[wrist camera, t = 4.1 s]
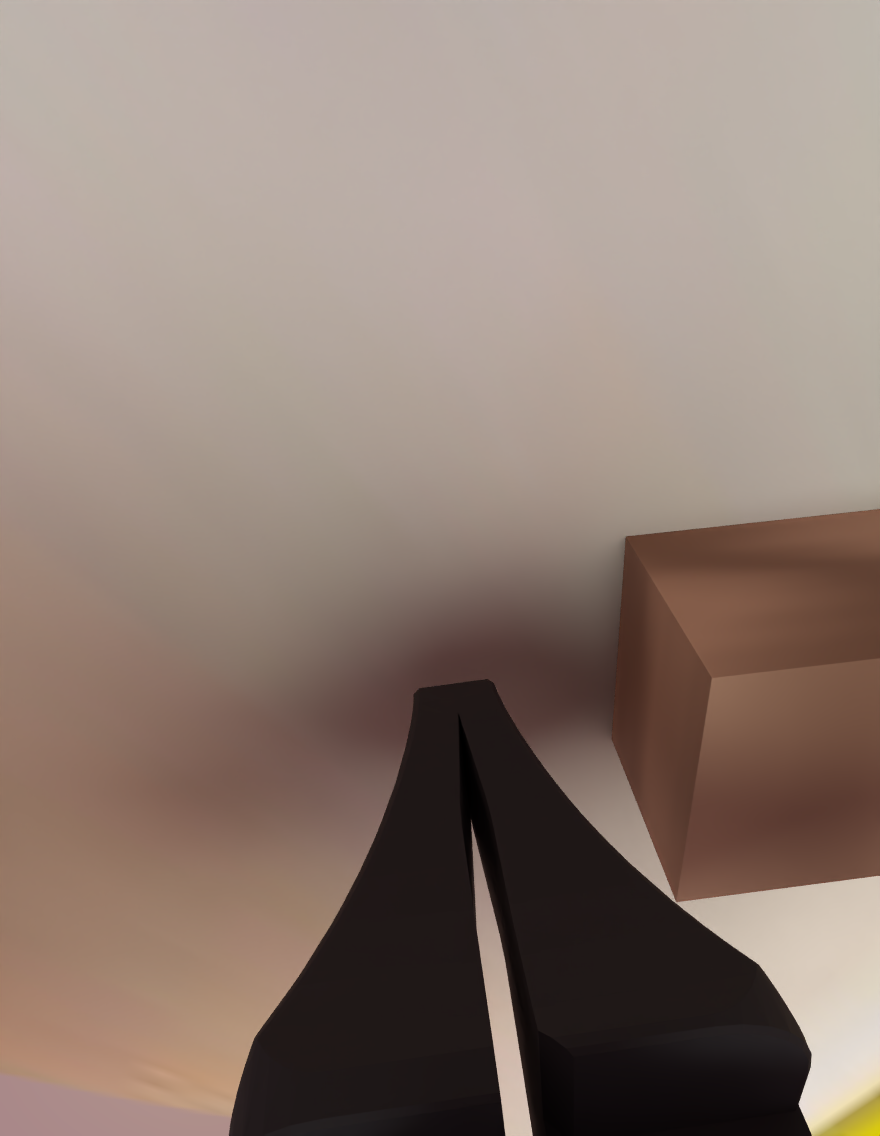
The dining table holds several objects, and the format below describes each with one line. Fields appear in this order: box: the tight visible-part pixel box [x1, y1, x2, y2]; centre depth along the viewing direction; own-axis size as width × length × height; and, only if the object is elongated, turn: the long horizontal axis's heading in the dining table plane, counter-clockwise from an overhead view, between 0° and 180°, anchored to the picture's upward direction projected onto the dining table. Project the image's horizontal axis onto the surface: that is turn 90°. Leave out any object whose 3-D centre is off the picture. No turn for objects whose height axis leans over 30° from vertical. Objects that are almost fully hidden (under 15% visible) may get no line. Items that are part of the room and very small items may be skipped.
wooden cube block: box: [612, 509, 880, 902], centre depth 13 cm, size 5×5×4 cm
